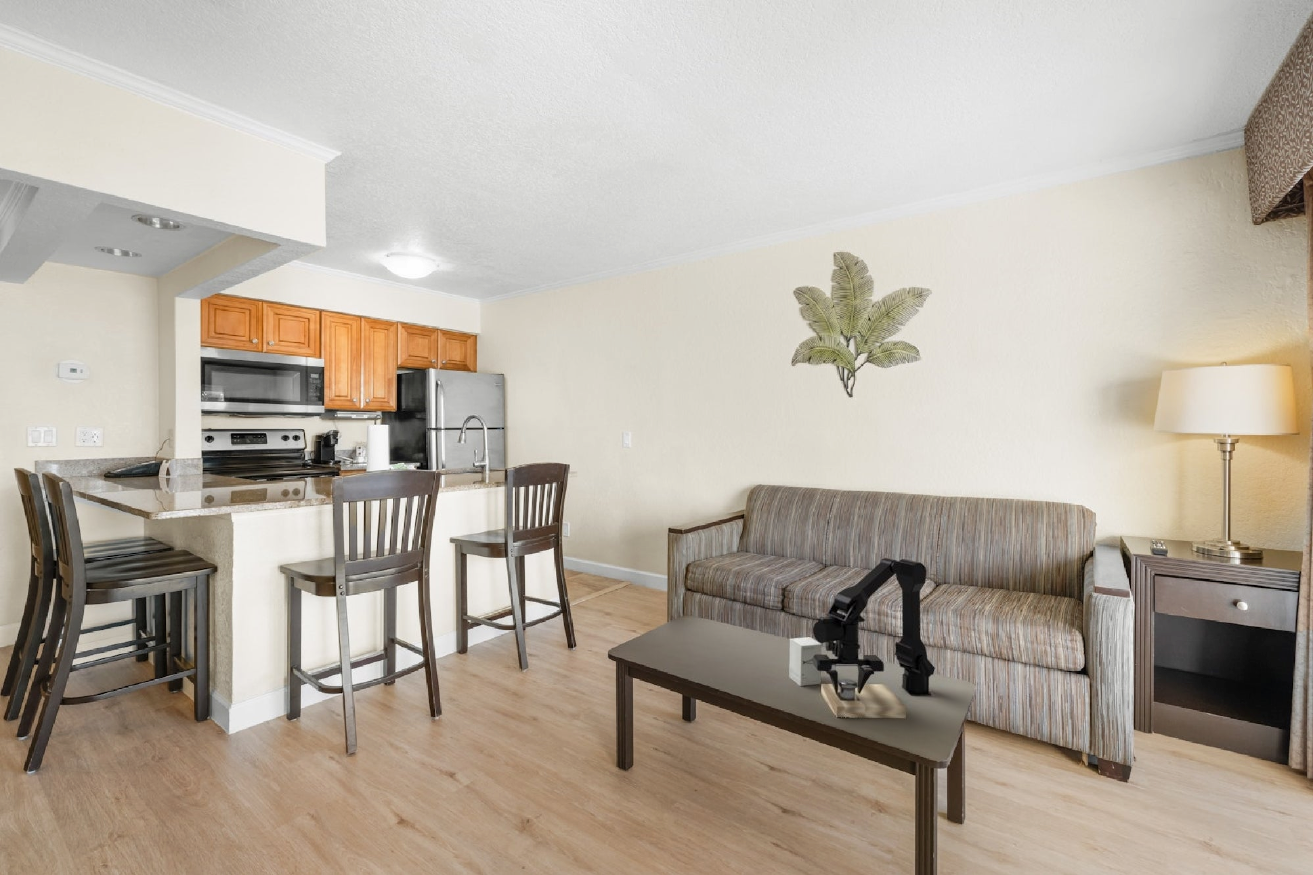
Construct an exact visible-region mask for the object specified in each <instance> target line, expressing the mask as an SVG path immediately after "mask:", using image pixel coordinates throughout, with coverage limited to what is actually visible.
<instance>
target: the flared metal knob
mask: <svg viewBox="0 0 1313 875" xmlns="http://www.w3.org/2000/svg"><path fill="white" fill-rule="evenodd" d="M857 684H858V681H856V680H854V679H849V678H840V679H838V685H839V686H840V700H841V701H855V688H857Z"/></svg>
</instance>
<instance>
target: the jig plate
mask: <svg viewBox="0 0 1313 875" xmlns="http://www.w3.org/2000/svg"><path fill="white" fill-rule="evenodd" d="M820 685H821V689H820V690H821V691H820V693H821V694H820V695H821V696H822V697H823V699H824V700H825V702H826V704H827V705H828V706H829V708H830V710H831V711H832V712H833V714H834V715H836V716H835V717H836V718H837V717H841V718H842V717H845V718H846V717H849V719H851V718H853V719H859V718H860V719H861V718H862V719H864V718H865V719H907V707H906V705H905V704H904V703H903V701H901V700H900V699H899V698H898V696H896V695H895V693H894V692H893V691H892V690H891V689H890V688H889V687H888V686H887V685H886V684H880V683H879V684H878V683H877V684H876V683H875V684H872V683H870V684H869V683H867V684H866V683H865V685H864V687H863V689H862V691H861V693H860V694H859V693H858V690H857V688H855V701H841V700H840V686H839V685H838V693H835V690H834V687H833V684H832V683H821V684H820ZM857 685H858V683H857ZM858 717H859V718H858ZM841 718H840V719H841Z"/></svg>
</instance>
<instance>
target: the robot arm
mask: <svg viewBox="0 0 1313 875" xmlns="http://www.w3.org/2000/svg"><path fill="white" fill-rule="evenodd" d="M894 575H895V576H896V581H897V583H898V584H899V586H900V588H901V602H902V603H901V604H902V606H901V608H902V609H901V610H902V611H901V612H902V617H901V618H902V622H901V623H902V637H901V638H900V640H899V641H896V642H895V643H894V645H895V646H894V647H895V653H894V656H896V660H897V661H898V664H899V668H903V673H902V682H901V684H902V685H901V688H903V690H904V691H905V692H906V693H907V694H908V695H910V696H932V692H930V677H931V676H932V675H934V673H935V669H936V668H935V666H934V665H933V664H932V662H931V661H930V660H929V659H928V654H927V653H928V652H927V647H926V646H925V644H924V642H923V640H922V638H921V590H922V589H923V587H924V586H925V584H926V581H927V580H926V578H927V567H926V565H924V564H923V563H922V562H918V561H913V560H911V559H906V558H902V559H900V560H897V559H892V558H889V557H885V558H882V559H880V561H879V563H878V564H877V565H876V566H875V567H874V568H873V569H872V570H871V571H869V573H868V574H866V575H865V576H864V577H863V578H862V579H861V580H860V581H859V582H857V583H856V584H854V585H852V586H850V587H846V588H844V589H842V590H840V591H839V592H837V594H836V595H835V596H834V599H833V601H832V603H831V605H830V607H829V608H828V610H827V612H826V613H825V614H826V616H819V617H818V618H817V622H815V623H814V626H813V627H812V631H813V632H812V633H813V637H814V640H816V641H817V642H819V643H820V644H824V643H825V651H826V652H832V653H831V654H832V655H834V657H836V658H830V656H828V654H821V655H818V654H815V655H814V656H813V665H814V666H815V668H816V669H817V670H818V671H821V672H826V674H827V675H829V677H830V680H831V684H833V687H834V690H835V693H838V680H839V677H838V676H839V673H838V671H837V670H836V667H857V669H858V670H857V671H858V675H857V684H858V685H857V690H858V693H859V694H860V693H861V691H862V689H863V687H864V685H865V684H866V683H867V682H868V680H869V678H870V677H871V676H872V675H875V673H876V672H881V673H882V672H884V671H885V664H884V661H883V660H881V658H880V657H878V656H877V655H876V654H863V658H859V651H860V650H859V649H861V645H860V644H859V642H860V641H859V639H860V636H859V635H860V631H859V629H860V627H859V626H860V623H864V622H866V619H865V618H864V617H863V616H862V615H861V614H862V613H863V611H864V610H865V609H866V607H867V606H868V601H869V599H870V598H871V596H872V595H873V596H874V594H875V593H876V592H877V591H878V590H879V589H880V588H881V587H882V586H884V585H885V583H887V582H888V581H889V580H890V579H891V578H892V577H894ZM842 613H843V614H842Z"/></svg>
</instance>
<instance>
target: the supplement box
mask: <svg viewBox="0 0 1313 875" xmlns="http://www.w3.org/2000/svg"><path fill="white" fill-rule="evenodd" d="M815 654H818V655H822V643H819V642H818V641H817V640H816V639H815V638H812V637H811V636H809V637H794V638H789V666H788V667H789V670H788V671H789V672H788V675H789V676H788V678H790V680H792V681H793V682H794V683H796V684H797V685H798V687H799V686H800V687H803V686H811V685H812V686H813V685H821V684H822V683H821V682H822V671H818V670H817V669H816V668H815V666H814V665H813V656H814V655H815Z"/></svg>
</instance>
